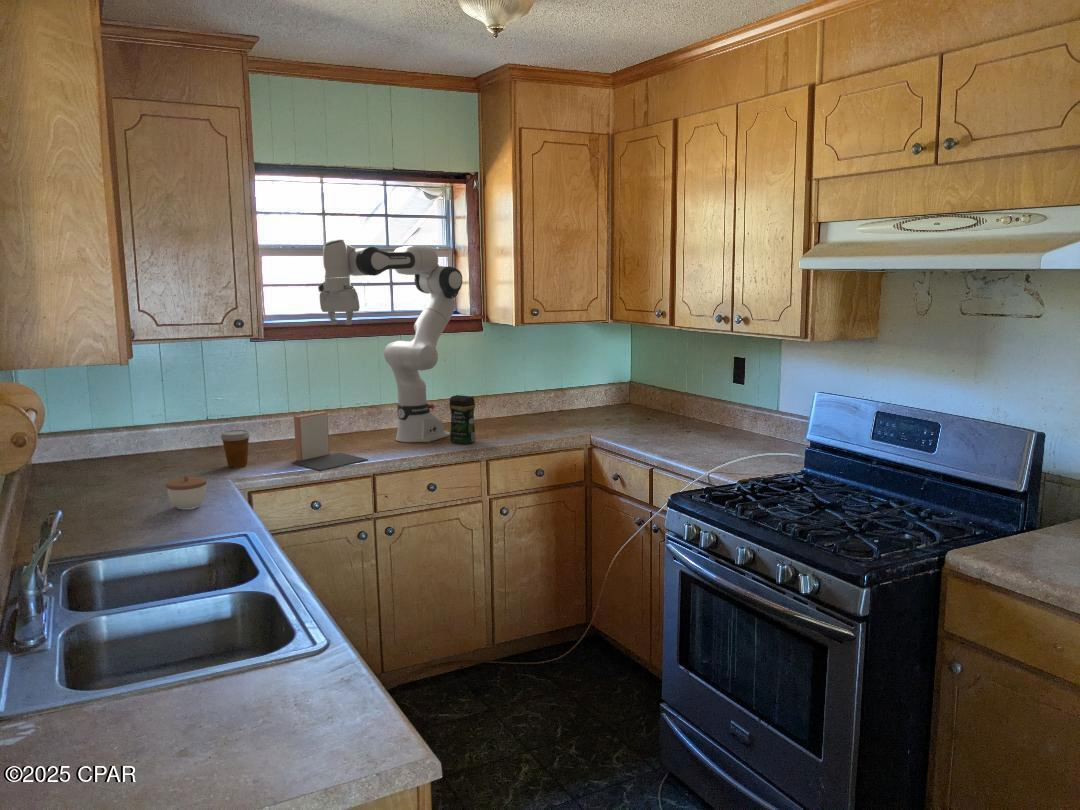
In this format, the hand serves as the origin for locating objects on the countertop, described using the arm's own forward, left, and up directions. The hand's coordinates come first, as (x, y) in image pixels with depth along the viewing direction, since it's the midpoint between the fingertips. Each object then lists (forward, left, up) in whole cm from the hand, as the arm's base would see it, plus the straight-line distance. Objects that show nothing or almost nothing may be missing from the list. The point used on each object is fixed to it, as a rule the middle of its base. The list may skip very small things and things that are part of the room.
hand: (341, 324), depth 300 cm
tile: (+12, -4, -48) cm, 49 cm away
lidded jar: (+71, +21, -48) cm, 89 cm away
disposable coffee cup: (+36, -14, -48) cm, 62 cm away
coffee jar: (-40, +20, -48) cm, 65 cm away
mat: (+12, +7, -48) cm, 50 cm away
